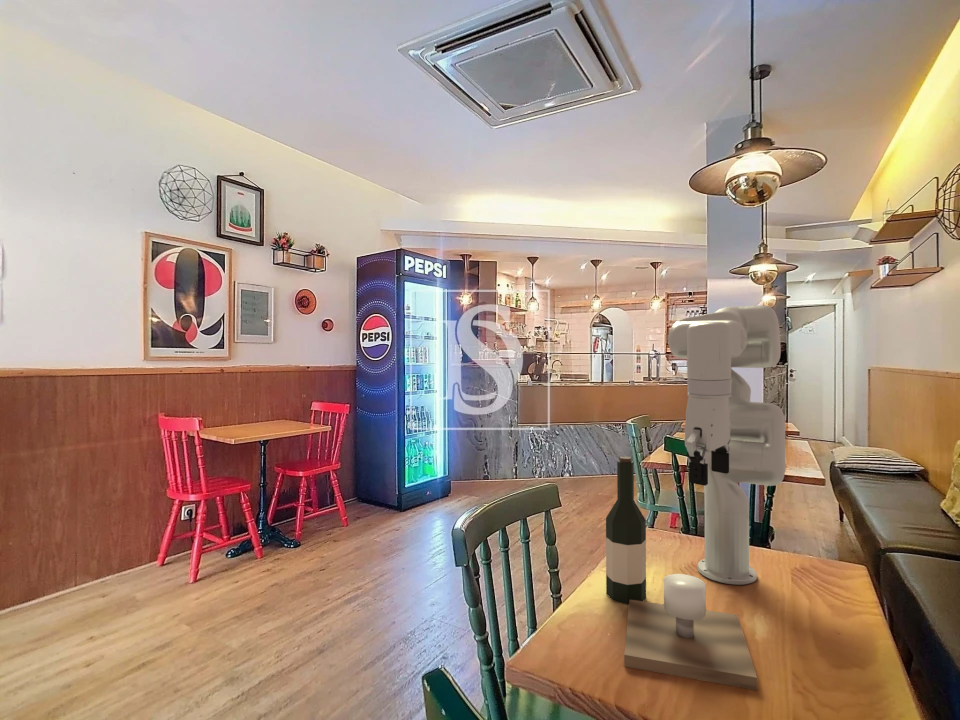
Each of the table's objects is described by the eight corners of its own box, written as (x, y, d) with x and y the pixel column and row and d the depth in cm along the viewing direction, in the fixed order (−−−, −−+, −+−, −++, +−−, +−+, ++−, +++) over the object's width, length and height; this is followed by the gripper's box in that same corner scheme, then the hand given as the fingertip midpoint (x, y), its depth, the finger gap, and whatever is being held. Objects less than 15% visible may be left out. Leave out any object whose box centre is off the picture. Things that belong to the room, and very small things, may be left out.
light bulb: (693, 595, 99) (692, 569, 99) (712, 620, 90) (712, 591, 89) (655, 594, 99) (655, 568, 99) (671, 619, 90) (671, 591, 90)
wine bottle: (648, 606, 107) (647, 462, 106) (607, 602, 109) (606, 461, 108) (643, 587, 115) (643, 454, 115) (605, 584, 117) (604, 453, 116)
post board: (629, 609, 106) (629, 580, 106) (737, 624, 100) (737, 594, 100) (624, 666, 87) (624, 631, 87) (757, 690, 81) (757, 652, 81)
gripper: (708, 382, 105) (708, 464, 106) (668, 392, 93) (669, 484, 95) (747, 384, 100) (747, 471, 101) (709, 395, 88) (710, 493, 89)
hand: (709, 477), depth 98 cm, fingers open, 9 cm apart
